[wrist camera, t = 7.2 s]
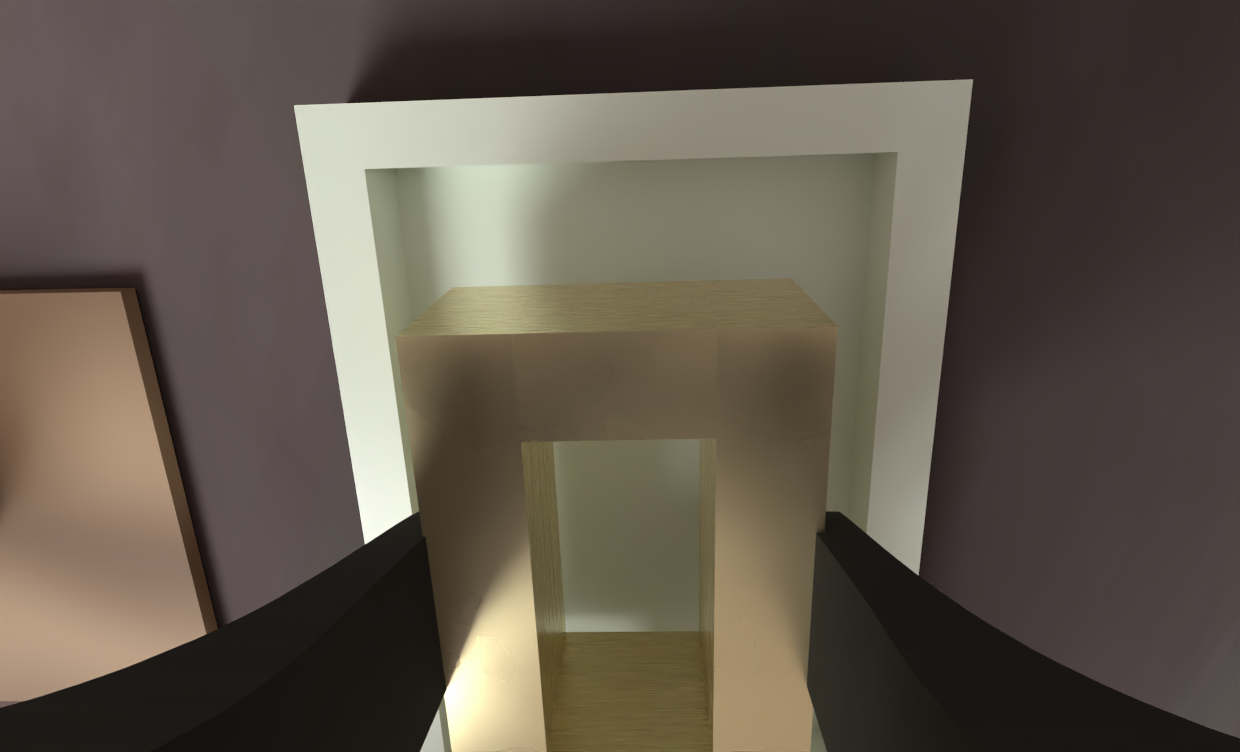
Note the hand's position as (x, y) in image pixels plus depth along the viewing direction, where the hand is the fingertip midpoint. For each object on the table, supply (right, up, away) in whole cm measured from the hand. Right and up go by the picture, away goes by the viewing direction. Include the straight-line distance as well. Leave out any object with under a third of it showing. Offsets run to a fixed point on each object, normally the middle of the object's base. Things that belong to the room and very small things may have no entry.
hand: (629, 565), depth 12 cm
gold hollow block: (0, +1, +2) cm, 2 cm away
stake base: (-15, 0, +5) cm, 15 cm away
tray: (0, +1, +3) cm, 4 cm away
